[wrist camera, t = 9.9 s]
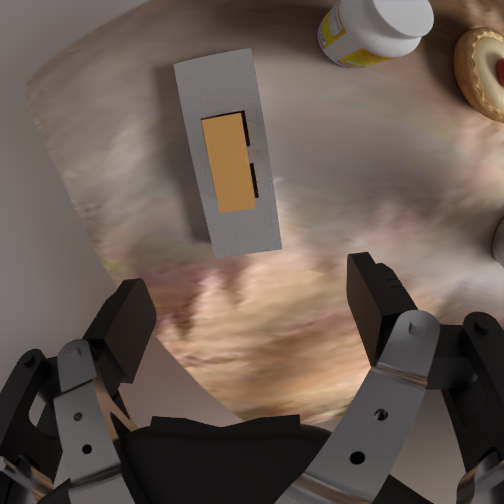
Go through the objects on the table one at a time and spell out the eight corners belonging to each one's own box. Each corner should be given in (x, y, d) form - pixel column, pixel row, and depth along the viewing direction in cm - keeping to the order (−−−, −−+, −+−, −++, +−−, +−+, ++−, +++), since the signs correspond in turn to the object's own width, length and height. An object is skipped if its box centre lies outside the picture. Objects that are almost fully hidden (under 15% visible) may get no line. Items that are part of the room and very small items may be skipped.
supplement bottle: (388, 50, 22) (461, 30, 11) (346, 80, 24) (406, 68, 13) (347, 3, 20) (399, -45, 8) (301, 32, 22) (334, -14, 10)
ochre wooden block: (242, 112, 26) (239, 113, 20) (255, 187, 30) (255, 208, 24) (212, 117, 26) (201, 120, 21) (226, 191, 30) (219, 213, 24)
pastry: (437, 21, 19) (480, 6, 11) (499, 45, 18) (542, 42, 10) (448, 112, 25) (496, 119, 17) (507, 125, 24) (552, 136, 16)
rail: (251, 53, 23) (250, 48, 20) (279, 236, 32) (281, 249, 30) (181, 67, 24) (173, 64, 21) (218, 245, 33) (215, 258, 30)
